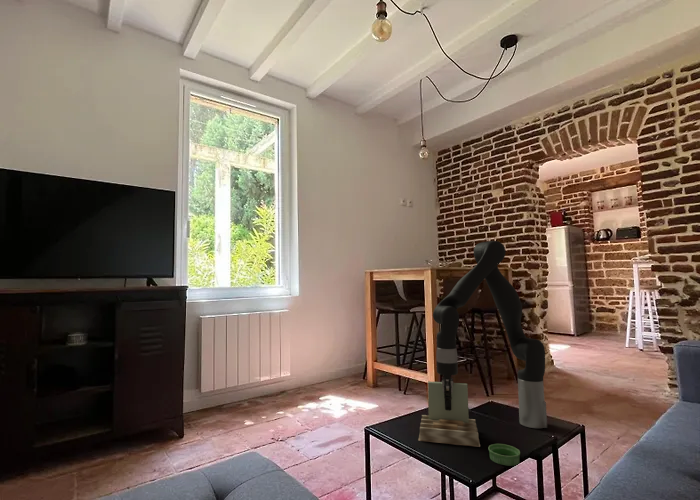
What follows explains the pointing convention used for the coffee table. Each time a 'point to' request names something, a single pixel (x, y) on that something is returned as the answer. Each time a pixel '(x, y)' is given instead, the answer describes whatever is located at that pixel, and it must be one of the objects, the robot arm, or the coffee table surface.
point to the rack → (449, 433)
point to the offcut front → (445, 426)
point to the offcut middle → (451, 422)
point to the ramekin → (506, 450)
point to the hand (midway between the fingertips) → (448, 408)
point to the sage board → (457, 402)
